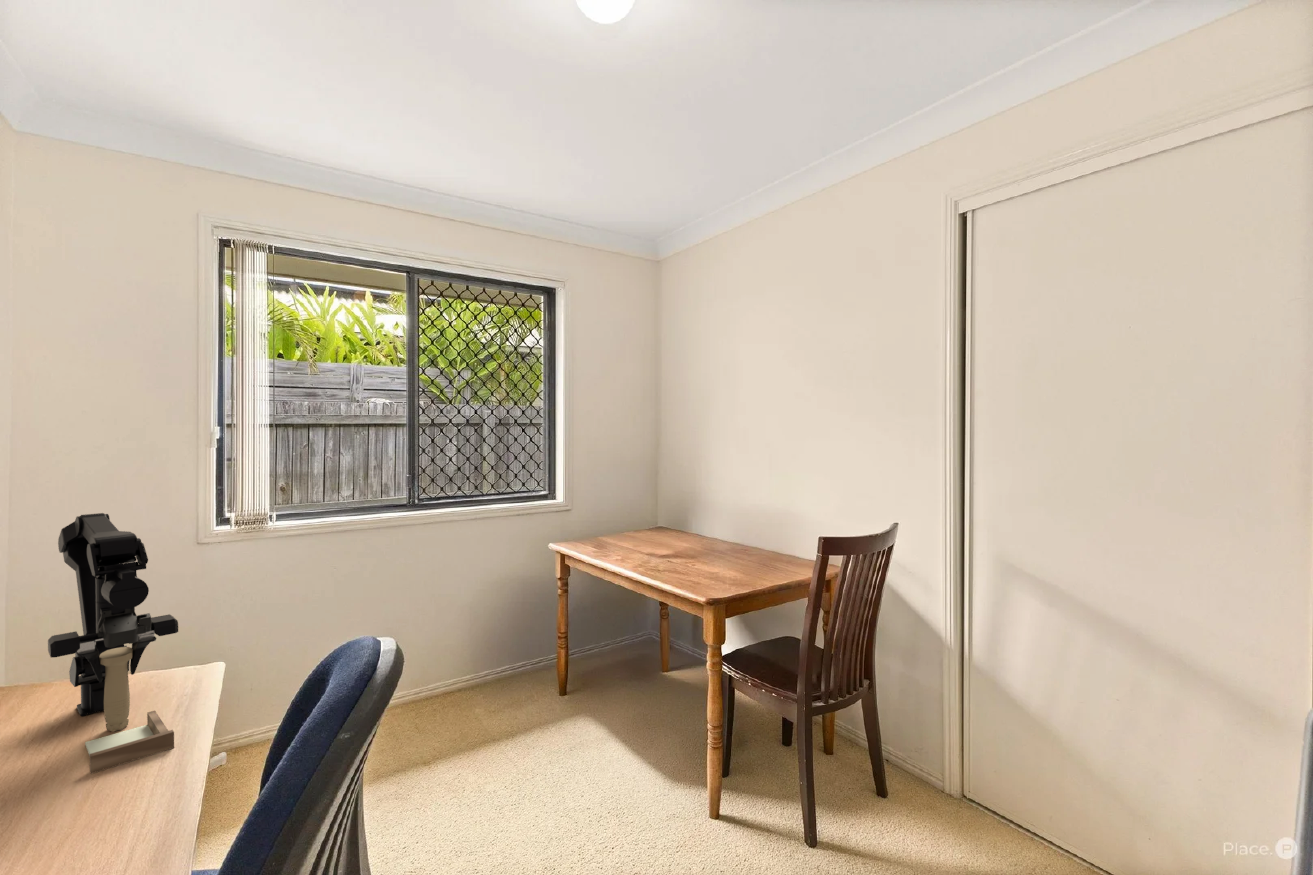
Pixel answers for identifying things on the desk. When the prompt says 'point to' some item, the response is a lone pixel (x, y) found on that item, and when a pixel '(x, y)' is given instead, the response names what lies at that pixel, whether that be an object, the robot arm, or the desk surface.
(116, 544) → the robot arm
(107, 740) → the pad
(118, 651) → the handle
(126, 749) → the walls
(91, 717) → the desk surface
